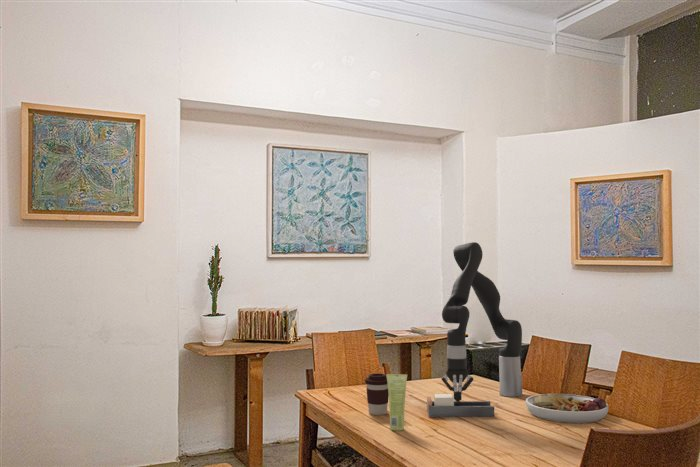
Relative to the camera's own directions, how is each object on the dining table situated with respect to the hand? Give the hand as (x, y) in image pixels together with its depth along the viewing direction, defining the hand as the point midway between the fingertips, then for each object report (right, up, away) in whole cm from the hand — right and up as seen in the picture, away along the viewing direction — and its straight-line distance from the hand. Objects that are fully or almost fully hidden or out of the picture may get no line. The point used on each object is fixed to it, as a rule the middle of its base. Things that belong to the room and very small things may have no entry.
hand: (457, 401), depth 233 cm
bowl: (+42, -5, -2) cm, 42 cm away
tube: (-25, -5, -20) cm, 32 cm away
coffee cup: (-31, -6, +3) cm, 32 cm away
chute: (+1, -5, 0) cm, 5 cm away
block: (-5, -4, 0) cm, 7 cm away
